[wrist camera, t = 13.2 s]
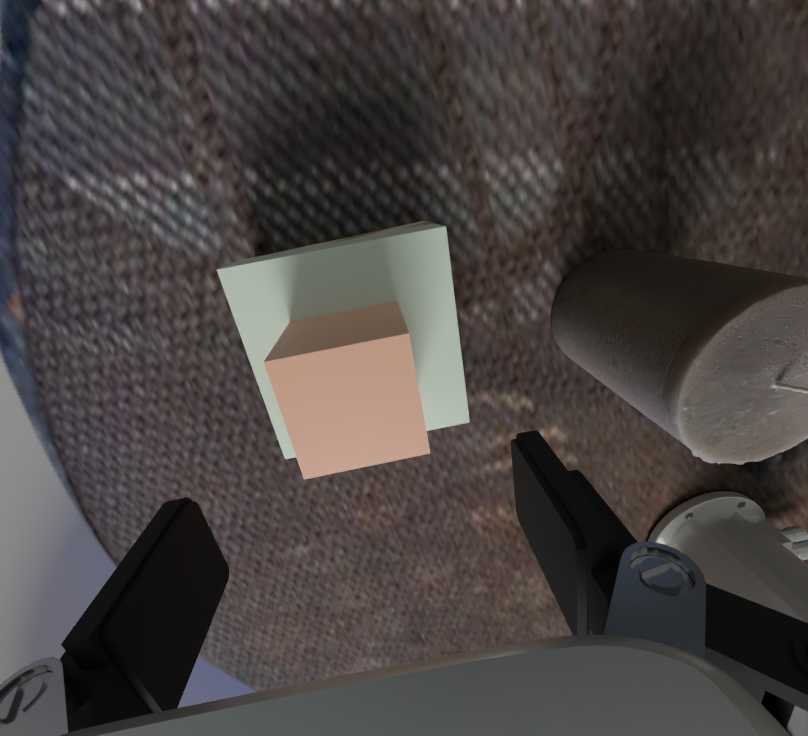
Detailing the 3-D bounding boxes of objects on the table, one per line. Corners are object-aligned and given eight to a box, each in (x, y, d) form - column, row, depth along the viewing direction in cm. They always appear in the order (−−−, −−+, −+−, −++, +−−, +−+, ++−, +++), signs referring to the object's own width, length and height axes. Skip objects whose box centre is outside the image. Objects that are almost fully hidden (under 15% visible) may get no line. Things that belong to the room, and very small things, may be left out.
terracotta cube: (396, 300, 21) (409, 333, 16) (414, 396, 23) (430, 453, 18) (289, 321, 21) (263, 362, 15) (318, 415, 23) (304, 479, 18)
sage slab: (433, 223, 24) (446, 226, 20) (456, 394, 28) (469, 422, 25) (240, 259, 23) (216, 269, 20) (295, 426, 28) (285, 459, 24)
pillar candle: (587, 228, 28) (799, 252, 14) (692, 271, 30) (966, 328, 16) (529, 347, 31) (654, 460, 18) (626, 379, 33) (808, 501, 20)
